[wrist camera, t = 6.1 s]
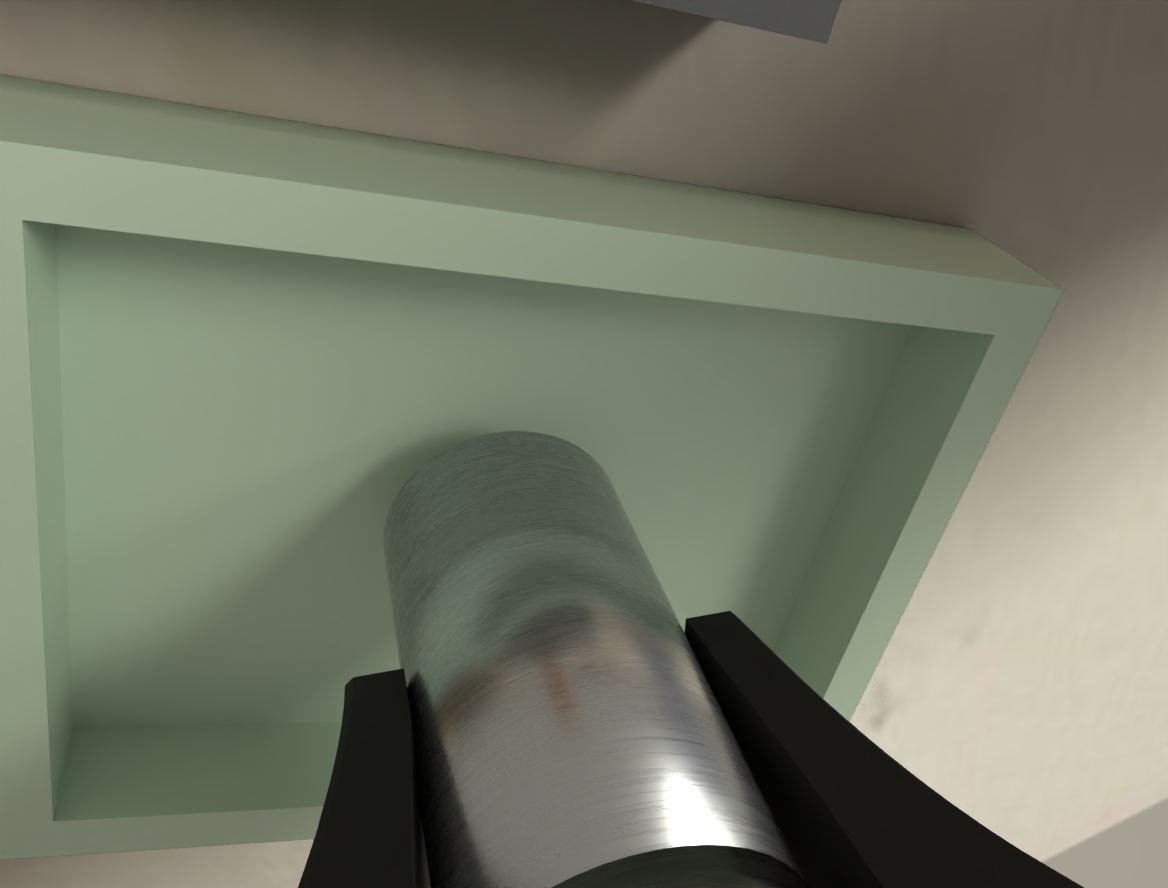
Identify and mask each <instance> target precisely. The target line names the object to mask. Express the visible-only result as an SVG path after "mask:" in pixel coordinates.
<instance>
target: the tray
mask: <svg viewBox="0 0 1168 888" xmlns="http://www.w3.org/2000/svg"><path fill="white" fill-rule="evenodd" d="M1063 291H1064V290H1063V289H1062V288H1060V287H1059V286H1057V285H1056V284H1054V283H1053V282H1051V281H1049V280H1048V279H1046V278H1045V277H1043V276H1042V275H1040V274H1039V273H1037V272H1036V271H1034V270H1033V269H1031V268H1029V267H1028V266H1026V265H1025V264H1023V263H1022V262H1020V261H1019V260H1017V259H1016V258H1014V257H1013V256H1011V255H1009V254H1008V253H1006V252H1005V251H1003V250H1002V249H1000V248H999V247H997V246H996V245H994V244H992V243H991V242H989V241H988V240H986V239H985V238H983V237H982V236H980V235H979V234H977V233H976V232H974V231H972V230H971V229H967V228H961V227H954V226H948V225H942V224H936V223H929V222H923V221H917V220H911V219H904V218H898V217H892V216H885V215H879V214H873V213H867V212H860V211H854V210H848V209H842V208H835V207H829V206H823V205H816V204H810V203H804V202H798V201H791V200H785V199H779V198H773V197H766V196H760V195H754V194H747V193H741V192H735V191H729V190H722V189H716V188H710V187H704V186H697V185H691V184H685V183H678V182H672V181H666V180H660V179H653V178H647V177H641V176H635V175H628V174H622V173H616V172H609V171H603V170H597V169H591V168H584V167H578V166H572V165H566V164H559V163H553V162H547V161H540V160H534V159H528V158H522V157H515V156H509V155H503V154H497V153H490V152H484V151H478V150H471V149H465V148H459V147H453V146H446V145H440V144H434V143H428V142H421V141H415V140H409V139H402V138H396V137H390V136H384V135H377V134H371V133H365V132H359V131H352V130H346V129H340V128H334V127H327V126H321V125H315V124H308V123H302V122H296V121H290V120H283V119H277V118H271V117H265V116H258V115H252V114H246V113H239V112H233V111H227V110H221V109H214V108H208V107H202V106H196V105H189V104H183V103H177V102H170V101H164V100H158V99H152V98H145V97H139V96H133V95H127V94H120V93H114V92H108V91H101V90H95V89H89V88H83V87H76V86H70V85H64V84H58V83H51V82H45V81H39V80H32V79H26V78H20V77H14V76H7V75H1V74H0V860H4V859H19V858H34V857H49V856H64V855H79V854H94V853H109V852H125V851H140V850H155V849H170V848H185V847H200V846H215V845H230V844H245V843H261V842H276V841H291V840H306V839H314V838H315V835H316V832H317V828H318V824H319V821H320V817H321V813H322V810H323V806H324V802H325V798H326V795H327V791H328V787H329V784H330V780H331V776H332V771H333V766H334V762H335V757H336V753H337V748H338V742H339V737H340V731H341V725H342V717H343V709H344V693H345V685H346V684H347V683H348V682H349V681H350V680H351V679H352V678H353V677H358V676H363V675H369V674H375V673H380V672H386V671H392V670H397V669H400V662H399V655H398V647H397V640H396V633H395V626H394V619H393V611H392V604H391V597H390V590H389V583H388V576H387V568H386V561H385V554H384V547H383V539H384V528H385V523H386V518H387V516H388V513H389V510H390V507H391V505H392V503H393V501H394V499H395V498H396V496H397V494H398V492H399V491H400V490H401V488H402V487H403V485H404V484H405V483H406V481H407V480H408V479H409V478H410V477H411V476H412V475H413V474H414V473H415V472H416V471H417V470H418V469H419V468H420V467H421V466H423V465H424V464H425V463H426V462H427V461H429V460H430V459H431V458H433V457H434V456H436V455H438V454H439V453H441V452H442V451H444V450H446V449H448V448H450V447H452V446H454V445H456V444H458V443H460V442H463V441H466V440H468V439H471V438H474V437H478V436H482V435H486V434H490V433H497V432H505V431H528V432H538V433H543V434H547V435H552V436H555V437H558V438H561V439H563V440H566V441H568V442H570V443H572V444H574V445H576V446H578V447H580V448H581V449H582V450H584V451H585V452H587V453H588V454H589V455H591V456H592V457H593V458H594V459H595V460H596V461H597V462H598V463H599V464H600V466H601V467H602V468H603V470H604V471H605V472H606V474H607V475H608V477H609V479H610V481H611V483H612V485H613V487H614V489H615V491H616V493H617V495H618V497H619V500H620V502H621V504H622V506H623V508H624V510H625V512H626V514H627V516H628V518H629V520H630V522H631V524H632V526H633V528H634V530H635V532H636V534H637V537H638V539H639V541H640V543H641V545H642V547H643V549H644V551H645V553H646V555H647V557H648V559H649V561H650V563H651V565H652V567H653V569H654V571H655V574H656V576H657V578H658V580H659V582H660V584H661V586H662V588H663V590H664V592H665V594H666V596H667V598H668V600H669V602H670V604H671V606H672V608H673V610H674V613H675V615H676V617H677V619H678V621H679V623H680V625H681V627H682V629H683V631H684V633H685V621H686V618H692V617H697V616H703V615H709V614H714V613H720V612H726V611H731V612H732V613H734V614H735V615H736V616H737V617H738V618H739V619H740V620H741V621H742V622H743V623H744V624H745V625H746V626H748V627H749V628H750V629H751V630H752V631H753V632H754V633H755V634H756V635H757V636H758V637H759V638H760V639H761V640H762V641H763V642H764V643H765V644H766V645H767V646H768V647H769V648H770V649H771V650H772V651H773V652H774V653H775V654H776V655H777V656H778V657H779V658H780V659H781V660H782V661H783V662H784V663H785V664H787V665H788V666H789V667H790V668H791V669H792V670H793V671H794V672H795V673H796V674H797V675H798V676H799V677H800V678H801V679H802V680H803V681H804V682H806V683H807V684H808V685H809V686H810V687H811V688H812V689H813V690H814V691H815V692H816V693H817V694H819V695H820V696H821V697H822V698H823V699H824V700H825V701H826V702H827V703H829V704H830V705H831V706H832V707H833V708H834V709H835V710H836V711H838V712H839V713H840V714H841V715H842V716H843V717H844V718H846V719H847V720H848V721H850V719H851V717H852V715H853V713H854V711H855V709H856V707H857V705H858V703H859V701H860V699H861V697H862V695H863V693H864V691H865V689H866V687H867V685H868V683H869V681H870V679H871V677H872V675H873V673H874V671H875V669H876V667H877V665H878V663H879V661H880V659H881V657H882V655H883V653H884V651H885V649H886V647H887V645H888V643H889V641H890V639H891V637H892V635H893V633H894V631H895V629H896V627H897V625H898V623H899V621H900V619H901V617H902V615H903V613H904V611H905V609H906V607H907V605H908V603H909V601H910V599H911V597H912V595H913V593H914V591H915V589H916V587H917V585H918V583H919V581H920V579H921V577H922V575H923V573H924V571H925V569H926V567H927V565H928V563H929V561H930V559H931V557H932V555H933V553H934V551H935V549H936V547H937V545H938V543H939V541H940V539H941V537H942V534H943V532H944V530H945V528H946V526H947V524H948V522H949V520H950V518H951V516H952V514H953V512H954V510H955V508H956V506H957V504H958V502H959V500H960V498H961V496H962V494H963V492H964V490H965V488H966V486H967V484H968V482H969V480H970V478H971V476H972V474H973V472H974V470H975V468H976V466H977V464H978V462H979V460H980V458H981V456H982V454H983V452H984V450H985V448H986V446H987V444H988V442H989V440H990V438H991V436H992V434H993V432H994V430H995V428H996V426H997V424H998V422H999V420H1000V418H1001V416H1002V414H1003V412H1004V410H1005V408H1006V406H1007V404H1008V402H1009V400H1010V398H1011V396H1012V394H1013V392H1014V390H1015V388H1016V386H1017V384H1018V382H1019V380H1020V378H1021V376H1022V374H1023V372H1024V370H1025V368H1026V366H1027V364H1028V362H1029V360H1030V358H1031V356H1032V354H1033V352H1034V350H1035V348H1036V346H1037V344H1038V342H1039V340H1040V338H1041V336H1042V333H1043V331H1044V329H1045V327H1046V325H1047V323H1048V321H1049V319H1050V317H1051V315H1052V313H1053V311H1054V309H1055V307H1056V305H1057V303H1058V301H1059V299H1060V297H1061V295H1062V293H1063Z"/></svg>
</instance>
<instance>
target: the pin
mask: <svg viewBox="0 0 1168 888" xmlns="http://www.w3.org/2000/svg"><path fill="white" fill-rule="evenodd" d="M383 547H384V554H385V561H386V568H387V576H388V583H389V590H390V597H391V604H392V611H393V619H394V626H395V633H396V640H397V647H398V655H399V662H400V669H403V668H404V673H405V680H406V687H407V693H408V700H409V707H410V714H411V721H412V729H413V737H414V744H415V753H416V769H417V785H418V798H419V806H420V813H421V820H422V827H423V835H424V842H425V849H426V856H427V863H428V871H429V878H430V885H431V888H808V886H807V884H806V882H805V880H804V878H803V876H802V874H801V871H800V869H799V867H798V865H797V863H796V861H795V859H794V857H793V855H792V853H791V851H790V849H789V847H788V845H787V843H786V841H785V839H784V837H783V834H782V832H781V830H780V828H779V826H778V824H777V822H776V820H775V818H774V816H773V814H772V812H771V810H770V808H769V806H768V804H767V802H766V800H765V797H764V795H763V793H762V791H761V789H760V787H759V785H758V783H757V781H756V779H755V777H754V775H753V773H752V771H751V769H750V767H749V765H748V763H747V760H746V758H745V756H744V754H743V752H742V750H741V748H740V746H739V744H738V742H737V740H736V738H735V736H734V734H733V732H732V730H731V728H730V726H729V724H728V721H727V719H726V717H725V715H724V713H723V711H722V709H721V707H720V705H719V703H718V701H717V699H716V697H715V695H714V693H713V691H712V689H711V687H710V684H709V682H708V680H707V678H706V676H705V674H704V672H703V670H702V668H701V666H700V664H699V662H698V660H697V658H696V656H695V654H694V652H693V650H692V647H691V645H690V643H689V641H688V639H687V637H686V635H685V633H684V631H683V629H682V627H681V625H680V623H679V621H678V619H677V617H676V615H675V613H674V610H673V608H672V606H671V604H670V602H669V600H668V598H667V596H666V594H665V592H664V590H663V588H662V586H661V584H660V582H659V580H658V578H657V576H656V574H655V571H654V569H653V567H652V565H651V563H650V561H649V559H648V557H647V555H646V553H645V551H644V549H643V547H642V545H641V543H640V541H639V539H638V537H637V534H636V532H635V530H634V528H633V526H632V524H631V522H630V520H629V518H628V516H627V514H626V512H625V510H624V508H623V506H622V504H621V502H620V500H619V497H618V495H617V493H616V491H615V489H614V487H613V485H612V483H611V481H610V479H609V477H608V475H607V474H606V472H605V471H604V470H603V468H602V467H601V466H600V464H599V463H598V462H597V461H596V460H595V459H594V458H593V457H592V456H591V455H589V454H588V453H587V452H585V451H584V450H582V449H581V448H580V447H578V446H576V445H574V444H572V443H570V442H568V441H566V440H563V439H561V438H558V437H555V436H552V435H547V434H543V433H538V432H528V431H505V432H497V433H490V434H486V435H482V436H478V437H474V438H471V439H468V440H466V441H463V442H460V443H458V444H456V445H454V446H452V447H450V448H448V449H446V450H444V451H442V452H441V453H439V454H438V455H436V456H434V457H433V458H431V459H430V460H429V461H427V462H426V463H425V464H424V465H423V466H421V467H420V468H419V469H418V470H417V471H416V472H415V473H414V474H413V475H412V476H411V477H410V478H409V479H408V480H407V481H406V483H405V484H404V485H403V487H402V488H401V490H400V491H399V492H398V494H397V496H396V498H395V499H394V501H393V503H392V505H391V507H390V510H389V513H388V516H387V518H386V523H385V528H384V539H383Z"/></svg>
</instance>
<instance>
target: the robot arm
mask: <svg viewBox="0 0 1168 888" xmlns="http://www.w3.org/2000/svg"><path fill="white" fill-rule="evenodd" d="M685 635H686V637H687V639H688V641H689V643H690V645H691V647H692V650H693V652H694V654H695V656H696V658H697V660H698V662H699V664H700V666H701V668H702V670H703V672H704V674H705V676H706V678H707V680H708V682H709V684H710V687H711V689H712V691H713V693H714V695H715V697H716V699H717V701H718V703H719V705H720V707H721V709H722V711H723V713H724V715H725V717H726V719H727V721H728V724H729V726H730V728H731V730H732V732H733V734H734V736H735V738H736V740H737V742H738V744H739V746H740V748H741V750H742V752H743V754H744V756H745V758H746V760H747V763H748V765H749V767H750V769H751V771H752V773H753V775H754V777H755V779H756V781H757V783H758V785H759V787H760V789H761V791H762V793H763V795H764V797H765V800H766V802H767V804H768V806H769V808H770V810H771V812H772V814H773V816H774V818H775V820H776V822H777V824H778V826H779V828H780V830H781V832H782V834H783V837H784V839H785V841H786V843H787V845H788V847H789V849H790V851H791V853H792V855H793V857H794V859H795V861H796V863H797V865H798V867H799V869H800V871H801V874H802V876H803V878H804V880H805V882H806V884H807V886H808V888H1084V887H1082V886H1080V885H1079V884H1077V883H1075V882H1074V881H1072V880H1070V879H1069V878H1067V877H1065V876H1063V875H1062V874H1060V873H1058V872H1057V871H1055V870H1053V869H1052V868H1050V867H1048V866H1047V865H1045V864H1043V863H1041V862H1040V861H1038V860H1036V859H1035V858H1033V857H1031V856H1030V855H1028V854H1026V853H1025V852H1023V851H1021V850H1020V849H1018V848H1017V847H1015V846H1013V845H1012V844H1010V843H1009V842H1007V841H1006V840H1004V839H1003V838H1001V837H1000V836H998V835H996V834H995V833H993V832H992V831H990V830H989V829H987V828H986V827H984V826H983V825H982V824H980V823H979V822H977V821H976V820H974V819H973V818H971V817H970V816H969V815H967V814H966V813H964V812H963V811H961V810H960V809H959V808H957V807H956V806H954V805H953V804H951V803H950V802H949V801H947V800H946V799H945V798H943V797H942V796H941V795H939V794H938V793H936V792H935V791H934V790H932V789H931V788H930V787H929V786H927V785H926V784H925V783H923V782H922V781H921V780H919V779H918V778H917V777H915V776H914V775H913V774H912V773H910V772H909V771H908V770H907V769H905V768H904V767H903V766H902V765H900V764H899V763H898V762H897V761H895V760H894V759H893V758H892V757H890V756H889V755H888V754H887V753H885V752H884V751H883V750H882V749H880V748H879V747H878V746H877V745H876V744H875V743H873V742H872V741H871V740H870V739H869V738H867V737H866V736H865V735H864V734H863V733H861V732H860V731H859V730H858V729H857V728H856V727H855V726H853V725H852V724H851V723H850V722H849V721H848V720H847V719H846V718H844V717H843V716H842V715H841V714H840V713H839V712H838V711H836V710H835V709H834V708H833V707H832V706H831V705H830V704H829V703H827V702H826V701H825V700H824V699H823V698H822V697H821V696H820V695H819V694H817V693H816V692H815V691H814V690H813V689H812V688H811V687H810V686H809V685H808V684H807V683H806V682H804V681H803V680H802V679H801V678H800V677H799V676H798V675H797V674H796V673H795V672H794V671H793V670H792V669H791V668H790V667H789V666H788V665H787V664H785V663H784V662H783V661H782V660H781V659H780V658H779V657H778V656H777V655H776V654H775V653H774V652H773V651H772V650H771V649H770V648H769V647H768V646H767V645H766V644H765V643H764V642H763V641H762V640H761V639H760V638H759V637H758V636H757V635H756V634H755V633H754V632H753V631H752V630H751V629H750V628H749V627H748V626H746V625H745V624H744V623H743V622H742V621H741V620H740V619H739V618H738V617H737V616H736V615H735V614H734V613H732V612H731V611H726V612H720V613H714V614H709V615H703V616H697V617H692V618H686V621H685ZM298 888H431V885H430V878H429V871H428V863H427V856H426V849H425V842H424V835H423V827H422V820H421V813H420V806H419V798H418V785H417V769H416V753H415V744H414V737H413V729H412V721H411V714H410V707H409V700H408V693H407V687H406V680H405V673H404V668H403V669H397V670H392V671H386V672H380V673H375V674H369V675H363V676H358V677H353V678H352V679H351V680H350V681H349V682H348V683H347V684H346V685H345V693H344V709H343V717H342V725H341V731H340V737H339V742H338V748H337V753H336V757H335V762H334V766H333V771H332V776H331V780H330V784H329V787H328V791H327V795H326V798H325V802H324V806H323V810H322V813H321V817H320V821H319V824H318V828H317V832H316V835H315V838H314V842H313V845H312V848H311V851H310V854H309V857H308V860H307V863H306V866H305V869H304V872H303V875H302V878H301V881H300V884H299V887H298Z"/></svg>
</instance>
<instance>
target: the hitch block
mask: <svg viewBox="0 0 1168 888" xmlns="http://www.w3.org/2000/svg"><path fill="white" fill-rule="evenodd" d="M631 1H636V2H640V3H645V4H649V5H654V6H658V7H663V8H668V9H672V10H677V11H681V12H686V13H690V14H695V15H699V16H704V17H708V18H713V19H717V20H722V21H726V22H731V23H735V24H740V25H745V26H749V27H754V28H758V29H763V30H767V31H772V32H776V33H781V34H785V35H790V36H794V37H799V38H803V39H808V40H813V41H817V42H822V43H826V44H827V41H828V38H829V35H830V32H831V29H832V26H833V23H834V20H835V17H836V14H837V11H838V8H839V5H840V2H841V0H631Z"/></svg>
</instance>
